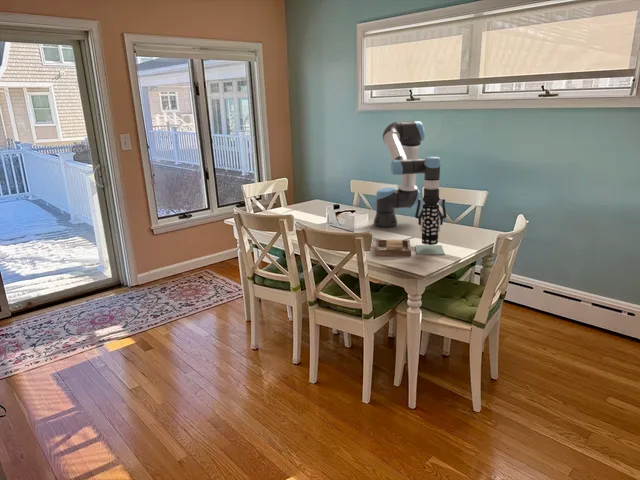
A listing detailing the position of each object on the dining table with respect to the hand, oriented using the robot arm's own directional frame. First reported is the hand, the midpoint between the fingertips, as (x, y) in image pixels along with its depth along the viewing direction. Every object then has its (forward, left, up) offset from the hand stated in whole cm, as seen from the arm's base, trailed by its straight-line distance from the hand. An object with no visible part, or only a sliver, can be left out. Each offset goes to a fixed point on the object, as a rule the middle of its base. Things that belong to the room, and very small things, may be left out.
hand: (430, 230), depth 231 cm
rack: (0, -19, -11) cm, 22 cm away
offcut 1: (+5, -18, -6) cm, 20 cm away
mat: (0, 0, -11) cm, 11 cm away
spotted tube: (0, 0, -7) cm, 7 cm away
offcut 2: (+5, -18, -9) cm, 21 cm away
